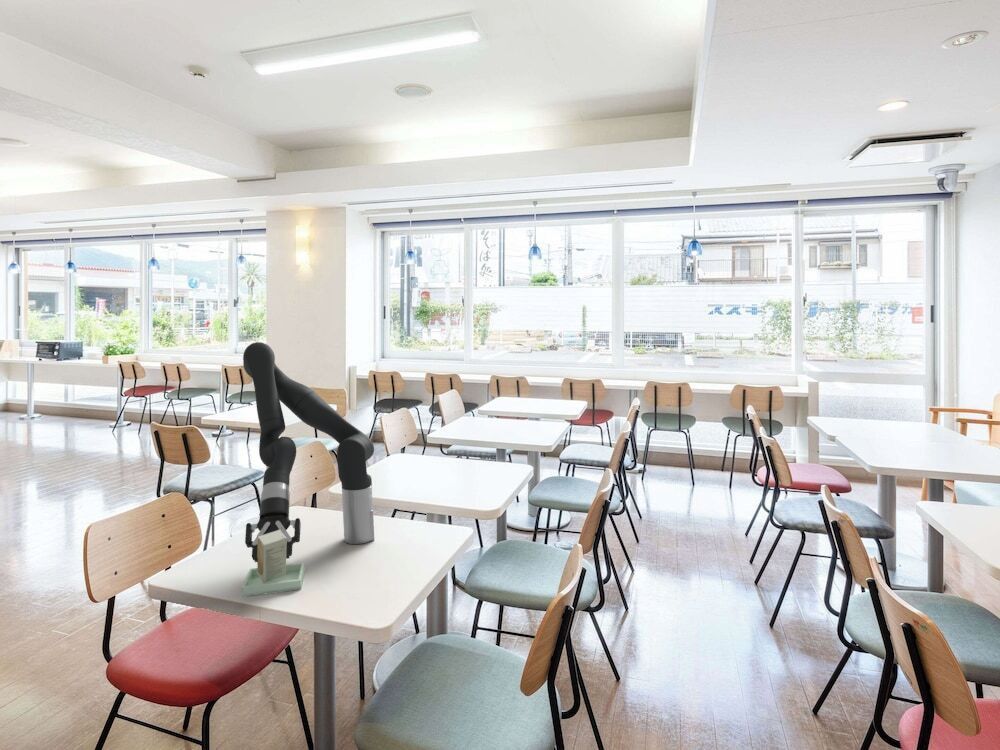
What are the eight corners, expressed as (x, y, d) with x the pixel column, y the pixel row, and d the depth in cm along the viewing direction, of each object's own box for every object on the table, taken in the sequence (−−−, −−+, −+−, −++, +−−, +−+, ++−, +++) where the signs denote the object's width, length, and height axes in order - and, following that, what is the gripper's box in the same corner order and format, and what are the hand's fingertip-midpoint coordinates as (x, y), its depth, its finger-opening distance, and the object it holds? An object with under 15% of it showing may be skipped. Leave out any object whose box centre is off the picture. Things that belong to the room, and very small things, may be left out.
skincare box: (279, 566, 154) (281, 528, 150) (286, 575, 151) (288, 537, 147) (255, 574, 150) (256, 535, 146) (262, 584, 147) (263, 545, 143)
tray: (304, 571, 158) (304, 562, 158) (301, 589, 148) (300, 580, 148) (250, 577, 155) (249, 568, 155) (242, 596, 144) (242, 587, 144)
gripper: (303, 505, 164) (302, 561, 154) (249, 510, 160) (244, 568, 150) (300, 493, 158) (299, 550, 148) (245, 498, 155) (239, 557, 145)
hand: (271, 559), depth 149 cm, fingers closed on skincare box, 7 cm apart
